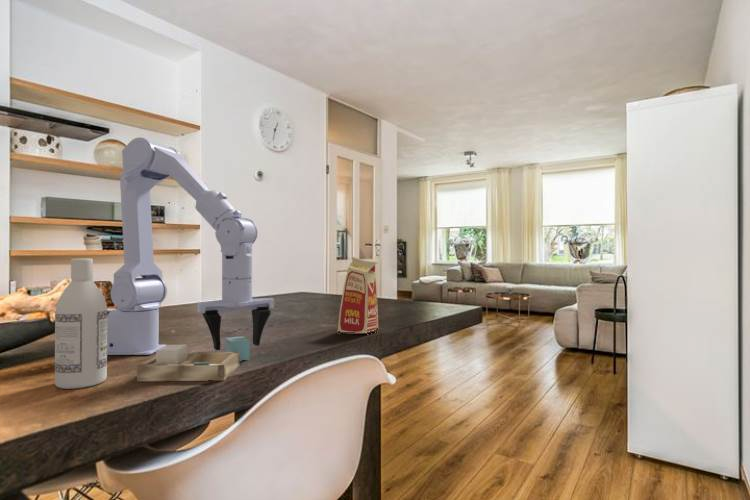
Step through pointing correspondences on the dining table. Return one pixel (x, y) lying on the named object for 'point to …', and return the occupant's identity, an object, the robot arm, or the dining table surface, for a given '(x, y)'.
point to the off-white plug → (172, 354)
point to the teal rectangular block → (239, 347)
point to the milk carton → (359, 298)
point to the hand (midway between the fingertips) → (237, 346)
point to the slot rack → (191, 368)
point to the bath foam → (80, 330)
